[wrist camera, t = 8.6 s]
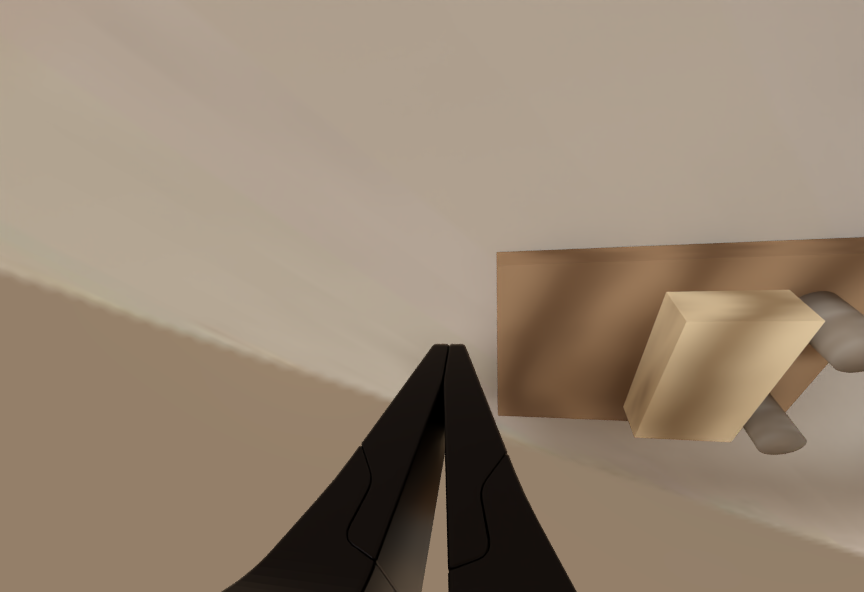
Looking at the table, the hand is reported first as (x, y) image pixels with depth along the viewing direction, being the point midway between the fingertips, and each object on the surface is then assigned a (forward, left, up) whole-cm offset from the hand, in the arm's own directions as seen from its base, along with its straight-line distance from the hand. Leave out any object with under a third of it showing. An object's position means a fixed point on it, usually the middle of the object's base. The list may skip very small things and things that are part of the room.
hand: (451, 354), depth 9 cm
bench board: (-11, +12, -12) cm, 20 cm away
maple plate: (-14, +12, -10) cm, 21 cm away
